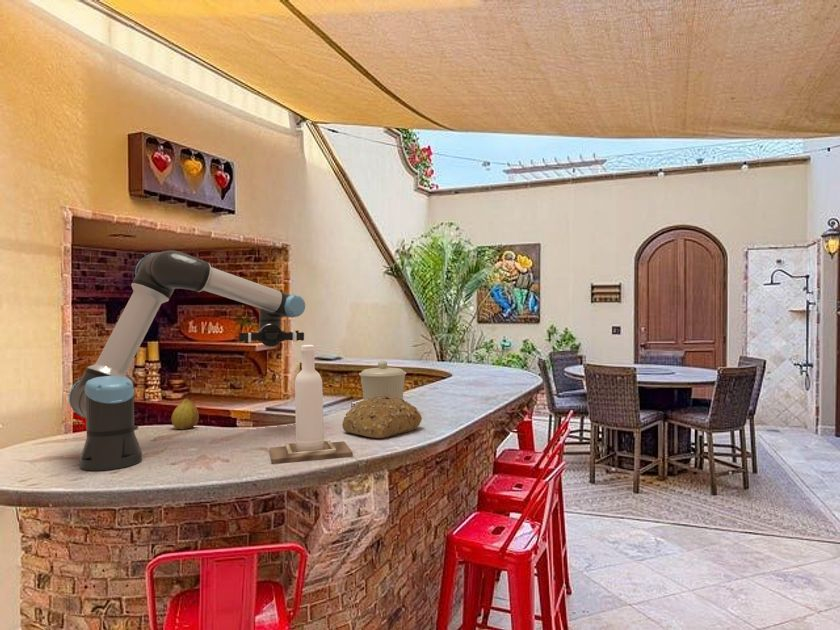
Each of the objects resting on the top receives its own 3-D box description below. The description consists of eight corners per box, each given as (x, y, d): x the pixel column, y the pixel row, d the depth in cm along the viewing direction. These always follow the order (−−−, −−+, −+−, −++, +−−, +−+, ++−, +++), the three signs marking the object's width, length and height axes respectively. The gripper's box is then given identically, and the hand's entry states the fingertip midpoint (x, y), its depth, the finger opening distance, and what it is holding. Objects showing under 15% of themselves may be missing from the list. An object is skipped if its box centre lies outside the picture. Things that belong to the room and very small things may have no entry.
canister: (362, 411, 233) (361, 358, 233) (407, 411, 233) (406, 358, 233) (357, 420, 215) (356, 363, 215) (406, 420, 215) (405, 362, 214)
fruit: (166, 430, 204) (165, 396, 204) (182, 425, 213) (182, 392, 213) (188, 431, 202) (187, 396, 202) (204, 425, 211) (203, 392, 211)
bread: (381, 422, 213) (380, 389, 213) (428, 428, 200) (427, 393, 200) (332, 434, 193) (331, 398, 193) (381, 443, 181) (380, 404, 180)
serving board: (271, 463, 158) (271, 455, 158) (269, 451, 171) (269, 444, 171) (352, 456, 164) (352, 448, 164) (344, 445, 177) (344, 438, 177)
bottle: (290, 450, 167) (287, 345, 166) (310, 445, 173) (308, 343, 173) (309, 454, 162) (307, 346, 161) (329, 448, 168) (327, 344, 168)
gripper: (307, 345, 203) (313, 349, 183) (232, 346, 197) (230, 350, 176) (307, 324, 203) (313, 325, 183) (232, 324, 197) (229, 325, 176)
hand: (272, 337), depth 180 cm, fingers open, 13 cm apart
